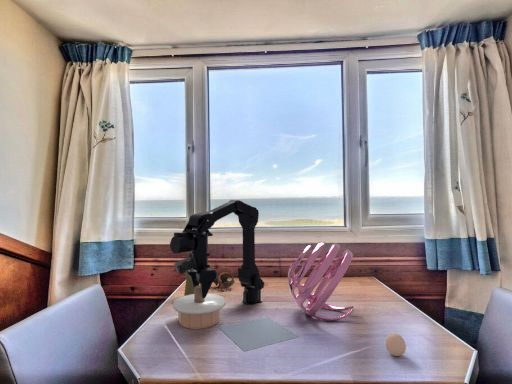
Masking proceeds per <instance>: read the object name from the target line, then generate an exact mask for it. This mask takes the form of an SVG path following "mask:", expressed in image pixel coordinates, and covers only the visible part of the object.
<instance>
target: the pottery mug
mask: <svg viewBox="0 0 512 384" xmlns="http://www.w3.org/2000/svg"><path fill="white" fill-rule="evenodd" d="M230 277H231V280H228V278H230ZM235 283H236V281H235V278H234V275H233V274H231V273H230V272H221V273H220V274H219V275H218V274H217V278H215V280H214V281H213V284H215V286H216V287H219V290H220V291H223V290H224V289H227V288H228V289H229V288H230V287H232V286H233V285H234V284H235Z"/></svg>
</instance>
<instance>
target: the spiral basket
mask: <svg viewBox="0 0 512 384" xmlns="http://www.w3.org/2000/svg"><path fill="white" fill-rule="evenodd" d="M325 245H326V242H325V241H320V242H318V243H317V244H316V245H315V246H314V248H313V250H312V251H311V253H310V254H309V255H308V257H307V258H306V260H305V261H304V263H303V264H302V266H301V267H300V269H299V270H298V271H297V273H296V274H295V271H296V269H297V268H298V266H299V265H300V263H301V262H302V261H303V259H304V257H305V255H306V254H307V253H308V251H309V250H310V248H311V247H312V244H308V245H307V246H305V247H304V249H303V250H302V252H301V253H300V254H299V256H298V258H297V259H296V260H295V262H291V264H290V265H289V268H288V273H287V279H288V290H289V293H290V295H291V296H292V299H293V300H294V303H295V304H296V306H297V307H298V308H300V309H301V310H302V311H303V312H304V313H305V314H306V315H308V316H309V317H312V318H315V319H318V320H319V321H320V320H321V321H326V322H335V321H340V320H343V319H346V318H347V317H349V316H350V315H352V314H353V312H354V311H355V309H354V308H355V307H354V306H353V305H352V306H346V307H341V306H340V307H339V306H335V305H331V304H327V303H326V302H327V301H328V300H329V298H331V295H332V294H333V293H334V292H335V290H336V289H337V287H338V285H340V282H341V280H342V279H343V277H344V275H346V272H347V270H348V269H349V267H350V264H351V262H352V259H353V257H354V254H353V253H352V251H350V250H349V249H345V250H344V251H343V252H342V253H341V254H340V255H339V256H338V258H336V256H337V254H338V252H339V250H340V248H341V246H340V244H338V243H335V242H334V243H332V244H331V245H330V246H329V247H328V248H327V250H326V251H325V253H323V255H322V256H321V258H320V259H319V260H318V262H317V263H316V265H315V266H314V268H313V269H312V271H310V274H309V275H308V276H307V278H306V280H305V281H304V282H303V284H301V281H302V280H303V278H304V277H305V276H306V274H307V273H308V271H309V270H310V269H311V267H312V265H313V264H314V262H315V261H316V259H317V257H319V254H320V253H321V252H322V250H323V248H324V247H325ZM335 258H336V260H335V261H334V259H335ZM333 261H334V263H333ZM332 263H333V264H332ZM330 266H331V267H330ZM328 269H329V270H328ZM291 278H292V279H291ZM296 288H297V291H298V293H297V294H296V293H295V289H296ZM315 288H316V289H315ZM314 290H315V291H314ZM306 300H307V304H306V307H305V306H304V305H303V304H304V303H305V301H306ZM322 308H323V309H325V310H328V309H331V310H330V311H334V310H336V311H335V312H343V311H348V312H347V313H345V314H343V315H341V316H337V317H324V316H320V315H318V314H317V313H318V312H319V311H320V310H321V309H322ZM349 310H350V311H349Z"/></svg>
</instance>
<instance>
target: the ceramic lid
mask: <svg viewBox="0 0 512 384" xmlns="http://www.w3.org/2000/svg"><path fill="white" fill-rule="evenodd" d="M225 306H226V298H225V297H224V296H223V295H219V294H215V293H207V296H206V298H202V294H201V287H200V284H199V285H198V286H195V287H194V294H191V295H186V296H184V295H183V296H180V297H178V298H176V299H175V300H174V301H173V302H172V308H173V310H174V311H176V312H181V313H186V314H203V313H209V312H214V311H217V310H219V309H220V310H221V309H223V308H224V307H225Z"/></svg>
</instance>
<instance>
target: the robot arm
mask: <svg viewBox="0 0 512 384" xmlns="http://www.w3.org/2000/svg"><path fill="white" fill-rule="evenodd" d="M231 214H234V215H236V216H237V219H238V223H239V225H240V227H241V228H242V264H241V265H240V267H238V268H237V278H238V282H240V286H241V287H243V291H242V295H243V296H242V297H243V298H242V302H243V303H244V304H246V305H248V306H250V305H257V304H262V303H263V300H262V295H261V293H262V291H261V290H262V289H264V287H265V282H264V281H263V279H262V278H261V277H260V271H259V270H260V269H259V268H258V266H257V264H256V249H255V248H256V246H255V243H256V242H255V241H256V239H255V234H256V233H255V229H256V226H257V225H258V223H259V214H260V213H259V210H258V209H257V208H256V206H252V205H249V204H247V203H246V202H243V201H242V200H240V199H230V200H229V201H227V202H225V203H223V204H221V205H219V206H216V207H214V208H213V209H211V210H209V211H202V212H198V213H197V212H196V213H194V214H192V215H190V216H189V219H188V221H187V223H186V225H185V227H184V228H183V230H182V232H173V236H172V238H171V239H170V242H169V249H170V251H171V252H172V253H173V254H182V253H183V254H184V253H187V252H188V257H186V258H184V259H180V260H179V261H177V262H175V263H173V264H174V268H175V270H176V273H177V274H179V275H183V274H186V273H187V274H188V275H189V276H190V278H191V281H192V285H193V289H194V287H195V286H198V285H200V287H201V294H202V298H206V296H207V294H209V291H210V289H211V287H212V285H213V284H214V282H213V281H214V280H215V278H217V275H218V271H217V270H216V269H214V268H212V267H210V266H211V265H210V264H209V259H208V258H209V257H210V256H211V255H210V253H211V252H209V240H208V239H209V237H213V235H214V234H213V232H210V231H209V230H210V229H211V228H212V227H213V226H214V225H215V223H216V222H217V221H219V220H221V219H223V218H225V217H227V216H229V215H231Z"/></svg>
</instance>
